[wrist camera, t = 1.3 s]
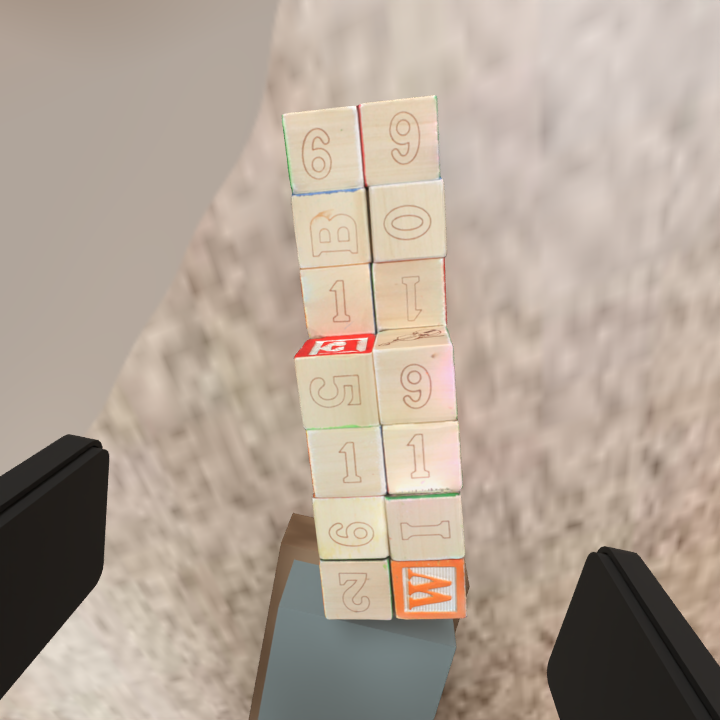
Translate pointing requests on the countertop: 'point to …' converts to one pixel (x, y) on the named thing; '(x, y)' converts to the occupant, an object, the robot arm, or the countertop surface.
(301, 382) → the stack of blocks
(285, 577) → the tower base slab
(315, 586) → the tower top slab
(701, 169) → the countertop surface
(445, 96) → the countertop surface
